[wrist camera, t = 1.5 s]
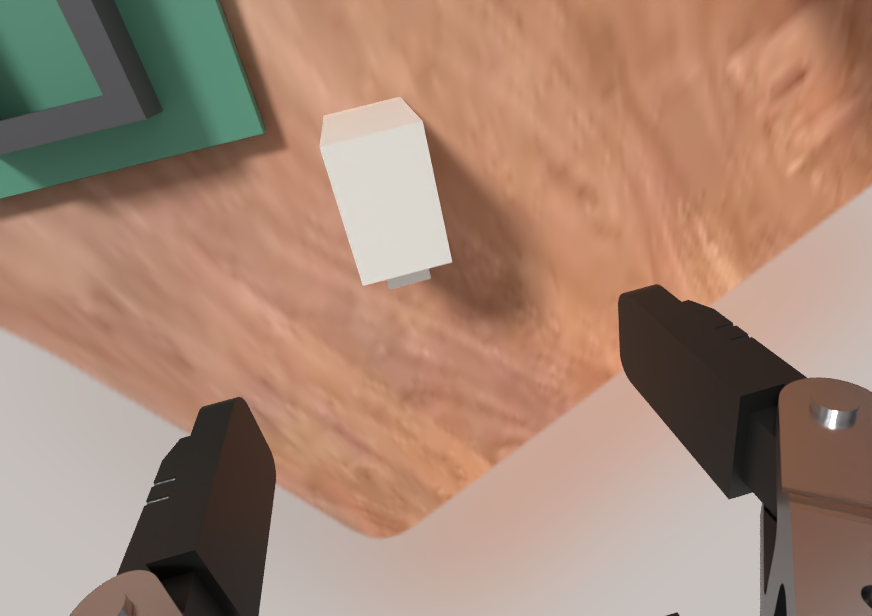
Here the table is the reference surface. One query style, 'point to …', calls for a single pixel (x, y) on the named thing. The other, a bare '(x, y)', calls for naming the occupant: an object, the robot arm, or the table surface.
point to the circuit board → (114, 86)
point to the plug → (385, 191)
